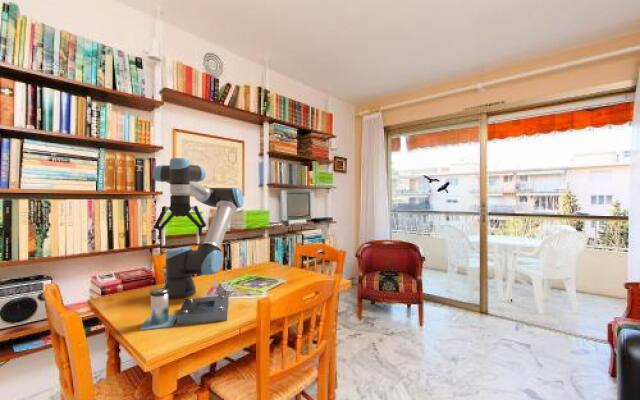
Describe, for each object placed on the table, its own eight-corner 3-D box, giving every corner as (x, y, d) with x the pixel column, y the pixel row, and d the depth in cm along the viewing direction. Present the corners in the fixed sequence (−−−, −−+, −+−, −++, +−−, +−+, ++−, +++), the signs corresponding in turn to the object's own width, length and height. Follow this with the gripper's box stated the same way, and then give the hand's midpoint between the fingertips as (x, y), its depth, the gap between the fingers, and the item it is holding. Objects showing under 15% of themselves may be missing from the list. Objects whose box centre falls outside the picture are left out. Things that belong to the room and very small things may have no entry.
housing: (185, 308, 128) (185, 297, 127) (228, 303, 132) (228, 293, 132) (177, 325, 110) (177, 313, 110) (227, 320, 115) (226, 308, 115)
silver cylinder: (152, 318, 115) (152, 288, 115) (171, 316, 117) (171, 287, 117) (147, 326, 109) (147, 294, 109) (167, 323, 111) (167, 292, 110)
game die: (222, 307, 138) (210, 294, 133) (220, 295, 145) (209, 282, 140) (239, 297, 139) (228, 283, 134) (237, 286, 146) (226, 272, 141)
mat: (148, 318, 117) (148, 317, 117) (178, 315, 120) (178, 314, 120) (139, 330, 106) (139, 329, 106) (172, 327, 109) (172, 325, 109)
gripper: (144, 195, 117) (145, 247, 118) (210, 194, 123) (211, 244, 124) (149, 194, 124) (151, 244, 125) (212, 194, 131) (212, 241, 131)
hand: (181, 244), depth 124 cm, fingers open, 13 cm apart
